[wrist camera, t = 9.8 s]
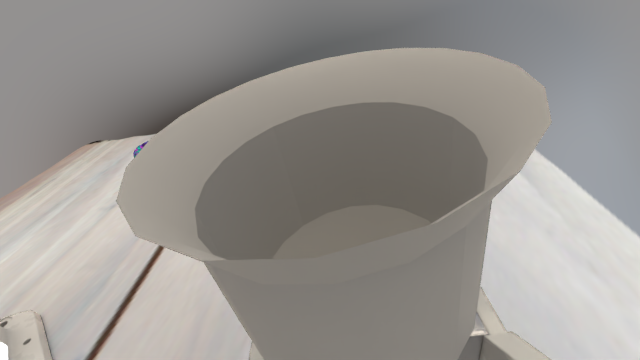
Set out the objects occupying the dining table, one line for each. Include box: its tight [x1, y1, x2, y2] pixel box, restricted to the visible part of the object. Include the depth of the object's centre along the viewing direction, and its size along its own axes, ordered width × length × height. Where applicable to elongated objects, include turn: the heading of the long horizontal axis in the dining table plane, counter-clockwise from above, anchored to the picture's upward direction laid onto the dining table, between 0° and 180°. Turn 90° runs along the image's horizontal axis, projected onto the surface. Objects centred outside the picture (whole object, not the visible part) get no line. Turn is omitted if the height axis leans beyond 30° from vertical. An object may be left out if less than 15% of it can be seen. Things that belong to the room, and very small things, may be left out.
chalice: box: [116, 48, 551, 360], centre depth 11 cm, size 7×7×18 cm
